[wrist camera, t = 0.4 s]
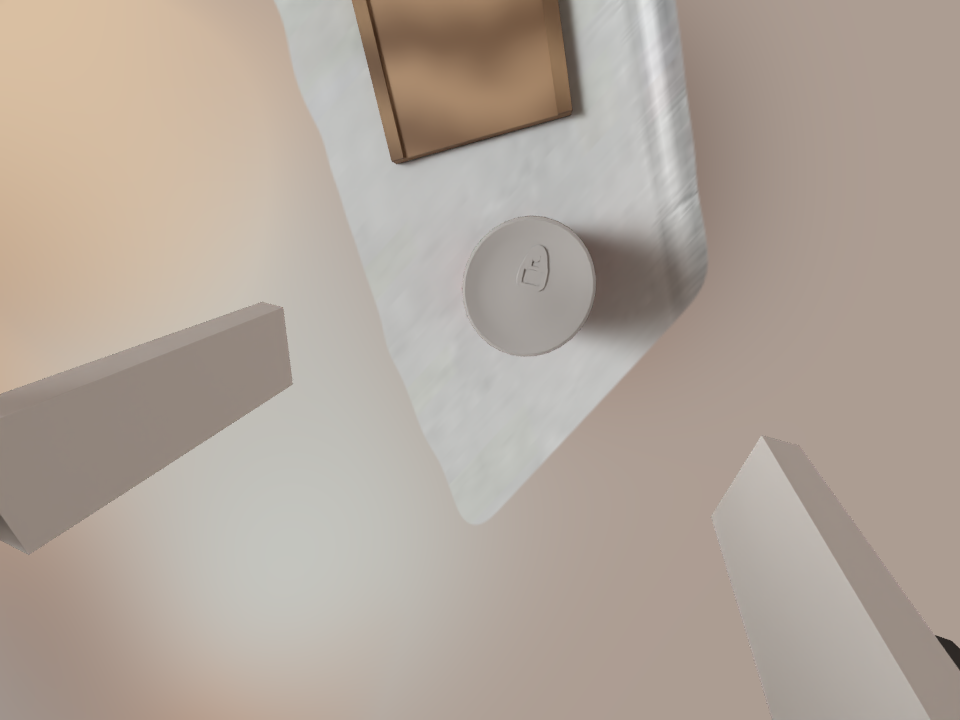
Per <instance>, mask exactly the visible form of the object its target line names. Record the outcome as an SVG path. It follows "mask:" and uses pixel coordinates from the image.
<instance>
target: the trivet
mask: <svg viewBox="0 0 960 720" xmlns="http://www.w3.org/2000/svg"><path fill="white" fill-rule="evenodd" d="M352 3H353V7H354V11H355V15H356V19H357V23H358V27H359V31H360V35H361V39H362V43H363V47H364V51H365V55H366V59H367V63H368V67H369V71H370V75H371V80H372V84H373V88H374V92H375V96H376V100H377V104H378V108H379V112H380V116H381V120H382V124H383V128H384V132H385V136H386V140H387V144H388V148H389V152H390V156H391V160H392V162H394V163H396V164H398V163H402V162H406V161H409V160H413V159H416V158H420V157H423V156H427V155H430V154H434V153H437V152H441V151H445V150H448V149H452V148H455V147H459V146H462V145H466V144H469V143H473V142H476V141H480V140H484V139H487V138H491V137H494V136H498V135H501V134H505V133H508V132H512V131H515V130H519V129H523V128H526V127H530V126H533V125H537V124H540V123H544V122H547V121H551V120H554V119H558V118H562V117H565V116H569V115H571V112H572V104H571V96H570V89H569V81H568V73H567V66H566V58H565V50H564V43H563V35H562V27H561V19H560V12H559V4H558V0H352Z"/></svg>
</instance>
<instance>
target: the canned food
mask: <svg viewBox="0 0 960 720" xmlns="http://www.w3.org/2000/svg"><path fill="white" fill-rule="evenodd" d="M595 292H596V275H595V270H594V264H593V261H592V259H591V256H590V254H589V251H588V249H587V248H586V246H585V245H584V243H583V242H582V240H581V239H580V238H579V237H578V236H577V235H576V234H575V233H574V232H573V231H572V230H571V229H570V228H568V227H567V226H565V225H563V224H562V223H560V222H558V221H555V220H552V219H549V218H546V217H539V216H525V217H518V218H515V219H512V220H509V221H506V222H504V223H502V224H500V225H499V226H497V227H495V228H494V229H492V230H491V231H490V232H489V233H488V234H487V235H486V236H484V237H483V238H482V239H481V241H480V242H479V243H478V245H477V246H476V247H475V249H474V250H473V252H472V254H471V256H470V258H469V260H468V262H467V265H466V269H465V272H464V275H463V285H462V293H463V303H464V307H465V310H466V314H467V316H468V318H469V320H470V322H471V325H472V326H473V328H474V329H475V330H476V332H477V333H478V334H479V336H480V337H481V338H482V339H484V340H485V341H486V342H487V343H488V344H489V345H491V346H492V347H494V348H496V349H498V350H499V351H502V352H505V353H507V354H510V355H516V356H523V357H525V356H537V355H541V354H545V353H549V352H551V351H553V350H555V349H557V348H559V347H561V346H562V345H564V344H565V343H567V342H568V341H569V340H571V339H572V338H573V337H574V336H575V334H576V333H577V332H578V331H579V330H580V329H581V327H582V326H583V324H584V323H585V321H586V320H587V318H588V316H589V313H590V311H591V309H592V306H593V302H594V297H595Z"/></svg>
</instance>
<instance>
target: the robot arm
mask: <svg viewBox="0 0 960 720" xmlns="http://www.w3.org/2000/svg"><path fill="white" fill-rule="evenodd" d="M292 384H293V383H292V376H291V367H290V359H289V351H288V343H287V335H286V327H285V319H284V311H283V307H280V306H276V305H272V304H268V303H264V302H260V303H258V304H255V305H252V306H249V307H246V308H243V309H241V310H238V311H235V312H232V313H230V314H226V315H223V316H221V317H218V318H215V319H212V320H209V321H206V322H204V323H201V324H198V325H195V326H192V327H189V328H186V329H184V330H181V331H178V332H175V333H172V334H169V335H167V336H164V337H161V338H158V339H155V340H152V341H150V342H147V343H144V344H141V345H138V346H135V347H132V348H130V349H127V350H124V351H121V352H118V353H116V354H113V355H110V356H107V357H104V358H101V359H98V360H96V361H93V362H90V363H87V364H84V365H81V366H79V367H76V368H73V369H70V370H67V371H64V372H62V373H59V374H56V375H53V376H50V377H47V378H44V379H42V380H39V381H36V382H33V383H30V384H27V385H25V386H22V387H19V388H16V389H14V390H10V391H8V392H5V393H2V394H0V540H1V541H3V542H5V543H7V544H9V545H11V546H13V547H15V548H16V549H18V550H20V551H22V552H24V553H26V554H28V555H29V554H31V553H32V552H34V551H35V550H37V549H39V548H40V547H42V546H43V545H45V544H46V543H48V542H49V541H51V540H52V539H54V538H56V537H57V536H59V535H60V534H62V533H63V532H65V531H66V530H68V529H69V528H71V527H73V526H74V525H76V524H77V523H79V522H80V521H82V520H84V519H85V518H87V517H88V516H90V515H91V514H93V513H94V512H96V511H97V510H99V509H100V508H102V507H104V506H105V505H107V504H108V503H110V502H111V501H113V500H114V499H116V498H118V497H119V496H121V495H122V494H124V493H125V492H127V491H128V490H130V489H131V488H133V487H135V486H136V485H138V484H139V483H141V482H142V481H144V480H145V479H147V478H149V477H150V476H152V475H153V474H155V473H156V472H158V471H159V470H161V469H162V468H164V467H166V466H167V465H169V464H170V463H172V462H173V461H175V460H176V459H178V458H179V457H181V456H183V455H184V454H186V453H187V452H189V451H190V450H192V449H193V448H195V447H196V446H198V445H199V444H201V443H203V442H204V441H206V440H207V439H209V438H210V437H212V436H214V435H215V434H216V433H218V432H220V431H221V430H223V429H224V428H226V427H227V426H229V425H231V424H232V423H234V422H235V421H237V420H238V419H240V418H241V417H243V416H244V415H246V414H247V413H249V412H251V411H252V410H254V409H255V408H257V407H258V406H260V405H261V404H263V403H264V402H266V401H268V400H269V399H271V398H272V397H273V396H275V395H277V394H278V393H280V392H282V391H283V390H285V389H286V388H288V387H289V386H291V385H292ZM711 518H712V521H713V525H714V528H715V532H716V535H717V538H718V542H719V545H720V548H721V551H722V555H723V558H724V562H725V565H726V568H727V572H728V575H729V578H730V581H731V584H732V588H733V592H734V595H735V598H736V601H737V605H738V608H739V612H740V615H741V618H742V621H743V624H744V628H745V631H746V634H747V638H748V641H749V645H750V648H751V651H752V655H753V658H754V661H755V665H756V668H757V671H758V675H759V678H760V681H761V685H762V688H763V691H764V695H765V698H766V701H767V705H768V708H769V711H770V715H771V718H772V720H960V648H958V646H956V645H955V644H954V643H953V642H952V641H950V640H947V639H944V638H942V637H939V636H936V635H934V634H933V632H932V631H931V630H930V628H929V627H928V625H927V624H926V622H925V621H924V620H923V618H922V617H921V615H920V614H919V613H918V611H917V610H916V608H915V607H914V606H913V604H912V603H911V601H910V600H909V599H908V597H907V596H906V594H905V593H904V592H903V590H902V589H901V588H900V586H899V585H898V583H897V582H896V580H895V579H894V578H893V576H892V575H891V573H890V572H889V571H888V569H887V568H886V566H884V564H883V562H882V561H881V559H880V558H879V557H878V555H877V554H876V552H875V551H874V550H873V548H872V547H871V545H870V544H869V543H868V541H867V540H866V538H865V537H864V536H863V534H862V533H861V531H860V530H859V528H858V527H857V526H856V524H855V523H854V522H853V520H852V519H851V517H850V516H849V515H848V513H847V512H846V510H845V509H844V508H843V506H842V505H841V503H840V502H839V500H838V499H837V498H836V496H835V495H834V493H833V492H832V491H831V489H830V488H829V486H828V485H827V484H826V482H825V481H824V480H823V478H822V477H821V476H820V474H819V472H818V471H817V470H816V468H815V467H814V466H813V464H812V463H811V461H810V460H809V458H808V457H807V456H806V454H805V453H804V451H803V450H802V449H801V447H800V446H799V445H796V444H792V443H788V442H784V441H781V440H777V439H774V438H770V437H766V436H761V437H760V439H759V441H758V442H757V444H756V445H755V447H754V449H753V450H752V452H751V453H750V455H749V457H748V458H747V460H746V461H745V463H744V465H743V466H742V468H741V469H740V471H739V473H738V474H737V476H736V477H735V479H734V481H733V482H732V484H731V485H730V487H729V489H728V490H727V492H726V493H725V495H724V497H723V498H722V500H721V501H720V503H719V505H718V506H717V508H716V510H715V511H714V513H713V514H712V516H711Z"/></svg>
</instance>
